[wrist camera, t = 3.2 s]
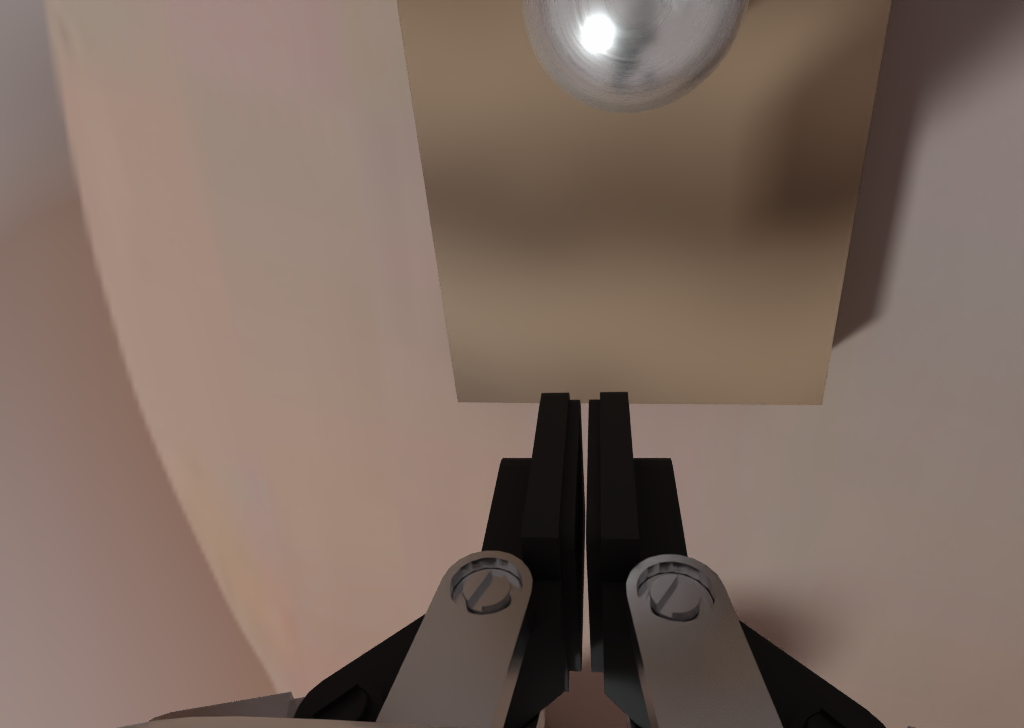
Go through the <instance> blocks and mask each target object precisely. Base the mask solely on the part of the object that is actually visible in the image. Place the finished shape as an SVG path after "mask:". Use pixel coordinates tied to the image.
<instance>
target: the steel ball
mask: <svg viewBox="0 0 1024 728" xmlns="http://www.w3.org/2000/svg"><path fill="white" fill-rule="evenodd" d="M521 1H522V13H523V19H524V24H525V29H526V32H527V35H528V39H529V42H530V44H531V47H532V49H533V51H534V53H535V56H536V58H537V59H538V61H539V63H540V64H541V66H542V67H543V69H544V70H545V72H546V73H547V74H548V75H549V77H550V78H551V79H552V80H553V81H554V82H555V83H556V84H557V85H558V86H559V87H560V88H561V89H562V90H563V91H564V92H566V93H567V94H568V95H570V96H571V97H573V98H574V99H576V100H578V101H580V102H581V103H583V104H585V105H587V106H590V107H593V108H596V109H599V110H603V111H608V112H612V113H640V112H645V111H650V110H654V109H657V108H660V107H663V106H666V105H669V104H671V103H673V102H675V101H677V100H679V99H681V98H682V97H684V96H685V95H687V94H688V93H690V92H691V91H693V90H694V89H696V88H697V87H698V86H699V85H700V84H702V83H703V82H704V81H705V80H706V79H707V78H708V77H709V76H710V75H711V74H712V73H713V72H714V71H715V70H716V69H717V67H718V66H719V65H720V63H721V62H722V61H723V59H724V58H725V57H726V55H727V54H728V52H729V51H730V49H731V47H732V45H733V44H734V42H735V40H736V38H737V36H738V34H739V31H740V29H741V27H742V25H743V22H744V19H745V16H746V12H747V9H748V5H749V0H521Z"/></svg>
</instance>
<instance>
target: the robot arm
mask: <svg viewBox="0 0 1024 728" xmlns="http://www.w3.org/2000/svg"><path fill="white" fill-rule="evenodd" d="M584 549H585V496H584V473H583V449H582V425H581V403H580V400H570V394H569V392H567V393H541V399H540V406H539V413H538V420H537V426H536V433H535V440H534V447H533V454H532V458H503V459H502V460H501V463H500V467H499V472H498V476H497V481H496V486H495V491H494V495H493V500H492V505H491V509H490V514H489V519H488V523H487V528H486V533H485V537H484V542H483V547H482V552H477V553H472V554H470V555H468V556H466V557H464V558H462V559H459V560H458V561H457V562H456V563H455V564H453V565H452V566H451V567H450V568H449V569H448V571H447V572H446V574H445V575H444V576H443V578H442V580H441V582H440V584H439V587H438V589H437V591H436V593H435V595H434V597H433V599H432V602H431V604H430V606H429V608H428V610H427V612H426V614H425V615H423V616H421V617H420V618H418V619H417V620H415V621H414V622H412V623H411V624H409V625H408V626H406V627H405V628H403V629H402V630H400V631H398V632H397V633H395V634H394V635H392V636H391V637H389V638H388V639H386V640H385V641H383V642H382V643H380V644H378V645H377V646H375V647H374V648H372V649H371V650H369V651H368V652H366V653H365V654H363V655H362V656H360V657H358V658H357V659H355V660H354V661H352V662H351V663H349V664H348V665H346V666H345V667H343V668H342V669H340V670H339V671H337V672H335V673H334V674H332V675H331V676H329V677H328V678H326V679H325V680H323V681H322V682H321V683H319V684H318V685H317V686H316V687H314V688H313V689H312V690H311V691H310V692H309V693H308V694H307V695H306V697H302V698H296V699H294V698H293V695H292V692H287V693H281V694H275V695H270V696H264V697H258V698H252V699H246V700H240V701H234V702H229V703H222V704H216V705H211V706H205V707H199V708H193V709H187V710H182V711H176V712H170V713H167V714H164V715H161V716H158V717H155V718H153V719H151V720H150V721H148V722H144V723H139V724H134V725H128V726H123V727H118V728H544V725H545V713H546V710H545V707H546V706H548V705H549V704H550V703H551V702H552V701H554V700H555V699H556V698H557V697H558V696H560V695H561V694H562V693H563V692H564V691H567V692H569V671H581V669H582V633H583V591H584ZM586 551H587V576H588V599H589V623H590V646H591V669H592V672H604V692H605V694H606V695H607V696H608V697H609V698H610V699H611V700H612V701H613V702H614V703H615V704H616V705H617V706H618V707H619V708H620V709H621V710H622V711H623V712H624V713H626V714H627V728H886V727H885V726H884V725H883V723H881V722H880V721H879V720H878V719H877V718H876V717H875V716H873V715H872V714H871V713H870V712H869V711H868V710H866V709H865V708H864V707H862V706H861V705H859V704H858V703H856V702H855V701H854V700H852V699H851V698H849V697H848V696H847V695H845V694H844V693H842V692H841V691H839V690H838V689H837V688H835V687H834V686H832V685H831V684H829V683H828V682H827V681H825V680H824V679H822V678H821V677H819V676H818V675H817V674H815V673H814V672H812V671H811V670H809V669H808V668H807V667H805V666H804V665H802V664H801V663H799V662H798V661H797V660H795V659H794V658H792V657H791V656H789V655H788V654H787V653H785V652H784V651H782V650H781V649H779V648H778V647H777V646H775V645H774V644H772V643H771V642H769V641H768V640H767V639H765V638H764V637H762V636H761V635H759V634H758V633H757V632H755V631H754V630H752V629H751V628H749V627H748V626H747V625H745V624H744V623H742V622H741V621H739V620H738V618H737V615H736V613H735V611H734V608H733V606H732V603H731V601H730V599H729V596H728V594H727V591H726V589H725V587H724V585H723V583H722V582H721V580H720V578H719V577H718V575H717V574H716V573H715V572H714V571H712V570H711V569H710V568H709V567H708V566H707V565H705V564H703V563H701V562H699V561H697V560H695V559H693V558H689V557H688V556H687V550H686V544H685V538H684V532H683V526H682V520H681V514H680V508H679V502H678V495H677V489H676V483H675V477H674V471H673V465H672V461H671V459H670V458H633V450H632V437H631V425H630V412H629V399H628V392H600V399H589V419H588V466H587V512H586ZM907 728H914V727H911V726H908V727H907Z"/></svg>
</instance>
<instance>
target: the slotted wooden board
mask: <svg viewBox="0 0 1024 728" xmlns="http://www.w3.org/2000/svg"><path fill="white" fill-rule="evenodd" d="M891 2H892V0H749V5H748V9H747V12H746V16H745V19H744V22H743V25H742V27H741V29H740V31H739V34H738V36H737V38H736V40H735V42H734V44H733V45H732V47H731V49H730V51H729V52H728V54H727V55H726V57H725V58H724V59H723V61H722V62H721V63H720V65H719V66H718V67H717V69H716V70H715V71H714V72H713V73H712V74H711V75H710V76H709V77H708V78H707V79H706V80H705V81H704V82H703V83H702V84H700V85H699V86H698V87H697V88H696V89H694V90H693V91H691V92H690V93H688V94H687V95H685V96H684V97H682V98H681V99H679V100H677V101H675V102H673V103H671V104H669V105H666V106H663V107H660V108H657V109H654V110H650V111H645V112H640V113H612V112H608V111H603V110H599V109H596V108H593V107H590V106H587V105H585V104H583V103H581V102H580V101H578V100H576V99H574V98H573V97H571V96H570V95H568V94H567V93H566V92H564V91H563V90H562V89H561V88H560V87H559V86H558V85H557V84H556V83H555V82H554V81H553V80H552V79H551V78H550V77H549V75H548V74H547V73H546V72H545V70H544V69H543V67H542V66H541V64H540V63H539V61H538V59H537V58H536V56H535V53H534V51H533V49H532V47H531V44H530V42H529V39H528V35H527V32H526V29H525V24H524V19H523V13H522V1H521V0H397V5H398V12H399V19H400V25H401V32H402V38H403V45H404V51H405V58H406V64H407V71H408V78H409V84H410V91H411V97H412V104H413V110H414V117H415V123H416V130H417V137H418V143H419V150H420V156H421V163H422V169H423V176H424V182H425V189H426V196H427V202H428V209H429V215H430V222H431V228H432V235H433V241H434V248H435V254H436V261H437V268H438V274H439V281H440V287H441V294H442V300H443V307H444V313H445V320H446V327H447V333H448V340H449V346H450V353H451V359H452V366H453V372H454V379H455V386H456V392H457V399H458V402H503V403H540V399H541V393H567V392H569V394H570V400H580V403H589V399H600V392H628V399H629V403H639V404H775V405H822V402H823V396H824V390H825V384H826V378H827V373H828V367H829V361H830V355H831V349H832V344H833V338H834V332H835V326H836V321H837V315H838V309H839V303H840V297H841V292H842V286H843V280H844V274H845V268H846V263H847V257H848V251H849V245H850V239H851V234H852V228H853V222H854V216H855V211H856V205H857V199H858V193H859V187H860V182H861V176H862V170H863V164H864V158H865V153H866V147H867V141H868V135H869V129H870V124H871V118H872V112H873V106H874V101H875V95H876V89H877V83H878V77H879V72H880V66H881V60H882V54H883V48H884V43H885V37H886V31H887V25H888V19H889V14H890V8H891Z"/></svg>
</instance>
